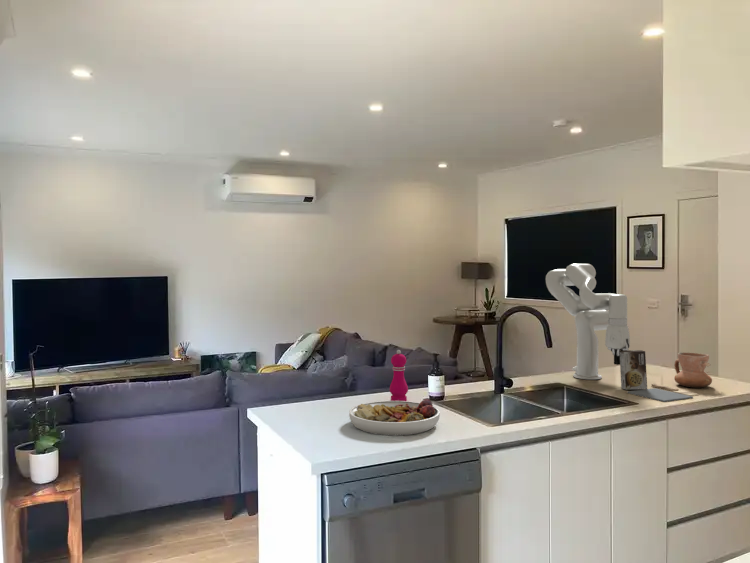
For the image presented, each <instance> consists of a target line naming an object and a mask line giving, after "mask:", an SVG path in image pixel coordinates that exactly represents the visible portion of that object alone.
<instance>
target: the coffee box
mask: <svg viewBox="0 0 750 563" xmlns="http://www.w3.org/2000/svg"><path fill="white" fill-rule="evenodd" d="M646 359H647V358H646V351H645V350H641V349H635V350H634V349H633V350H629V349H628V351H620V365H619V368H620V370H619V371H620V388H621V389H623V390H626V391H627V390H644V389H648V377H647V376H648V375H647V374H648V373H647V362H646V361H647V360H646Z"/></svg>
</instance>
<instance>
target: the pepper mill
mask: <svg viewBox="0 0 750 563" xmlns="http://www.w3.org/2000/svg"><path fill="white" fill-rule="evenodd" d="M390 363H391V365H392V371H393V377H392V380H391V383H390V385H389V393H390V394H391V396H390V401H408V396H407V393H408V392H409V387H408V383H407V381H406V379H405V370H406V366H405V365H406V363H407V357H406V356H405V355H404V354H402V351H401V350H400V349H397V350H396V353H395V354H393V355H392V356H391V358H390Z"/></svg>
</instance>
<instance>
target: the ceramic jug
mask: <svg viewBox="0 0 750 563" xmlns="http://www.w3.org/2000/svg"><path fill="white" fill-rule="evenodd" d="M709 359H710V354H707V353H696V352H695V353H694V352H689V351H688V352H683V351H680V352H678V353H677V358H676V359H675V361H674V369H675V373H676V374H675V375H674V381H675V383H677V384H679V385H680V386H682V387H685V388H686V387H687V388H692V389H699V388H707V387H709V386H710V385H711V384H712V382H713V379H712V377H711V376H710V375H709V374H707V373H706V372H705V369H706V367H708V368H709V367H710V366H711V364H710V363H709ZM679 365H680V366H679ZM680 367H681V369H682V370H680Z"/></svg>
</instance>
